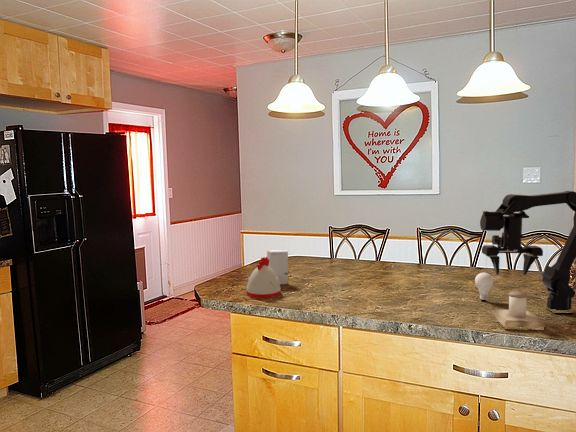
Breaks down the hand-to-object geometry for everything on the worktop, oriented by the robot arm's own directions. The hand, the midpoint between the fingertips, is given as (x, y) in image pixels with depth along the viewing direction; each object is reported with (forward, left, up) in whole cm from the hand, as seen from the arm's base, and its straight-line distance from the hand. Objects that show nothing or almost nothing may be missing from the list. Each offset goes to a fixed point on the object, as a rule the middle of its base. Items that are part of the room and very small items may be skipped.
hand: (510, 274), depth 163 cm
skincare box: (+86, -36, -13) cm, 94 cm away
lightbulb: (+5, -12, -13) cm, 19 cm away
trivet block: (+3, +14, -13) cm, 19 cm away
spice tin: (+3, +14, -10) cm, 17 cm away
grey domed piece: (+90, -19, -13) cm, 93 cm away
